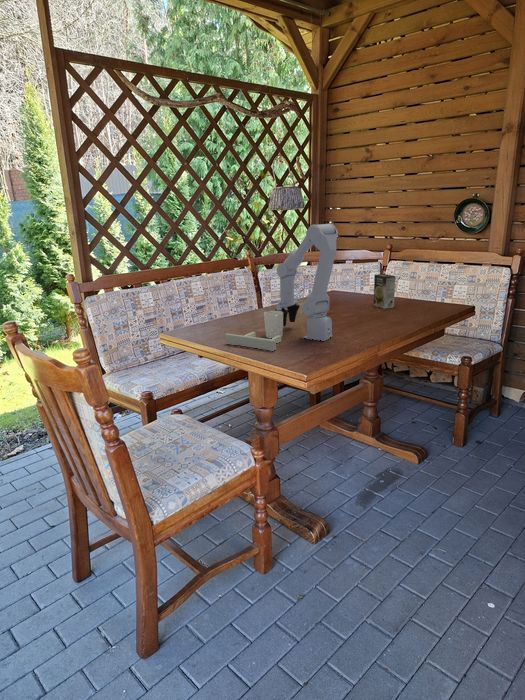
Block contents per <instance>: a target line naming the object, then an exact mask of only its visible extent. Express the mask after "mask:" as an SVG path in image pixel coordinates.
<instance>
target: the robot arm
mask: <svg viewBox="0 0 525 700" xmlns="http://www.w3.org/2000/svg"><path fill="white" fill-rule="evenodd" d="M338 234H339V231H338V230H337V227H336V226H335V225H334V224H333V223H324V224H323V223H321V224H311V225H310V226H309V227H308V228H307V230H306V231H305V237H304V238H303V240H302V241H301V243H300V244H299V246H298V247H297V249H292V250H291V251H290V252H289V255H288V256H287V257H286V259H285V260H284V261H283V262H282V263H281V262H280V263H278V265H277V267H276V273H277V276H278V277H279V292H280V293H279V294H280V297H279V298H280V299H279V301H278V302H277V303H278V304H276V308H275V310H274V311H282V312H283V327H286V326H287V318H288V319H289V323H295V321H296V317H297V313H298V311H299V309H300V305H299V300H298V299H295V279H296V275H297V273H298V272H297V271H298V267H299V266H300V265H301V264H302V263H303V261H304V260H305V254H306V253H308V252H309V250H310V249H311V248H312V247H313V246H315V248H316V249H317V250H319V252H320V254H319V259H318V261H317V262H318V263H317V268H316V272H315V276H314V281H313V285H312V289H311V292H310V293H308V295H306V296H305V297H306V298H305V301H304V302H303V303H302V311H303V314H304V315H305V317H306V333H307V334H306V335H304V336H303V337H302V338H303V339H304V338H306V340H312V339H313V340H315V341H320V340H321V341H320V342H325V341H327V340H329V339H331V338H332V337H334V336H333V334H332V333H333V321H332V318H331V317H329V316H327V313H328V312H329V311H330V299H331V297H330V296H329V295H328V293H327V290H328V288H329V283H330V279H331V274H332V271H333V267H334V262H335V257H336V253H337V239H338ZM330 337H331V338H330Z"/></svg>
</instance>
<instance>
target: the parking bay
mask: <svg viewBox="0 0 525 700" xmlns="http://www.w3.org/2000/svg"><path fill="white" fill-rule="evenodd" d="M224 335H225V336H224V337H225V344H226V343H230V344H236V345H242V346H249V347H254V348H260V349H266V350H272V351H274V350H276V351H277V344H276V343H278V342H280V343H282V337H281V336H280V335H278V336H276V337H274V338H272V339H271V338H264V337H263V338H262V337H256V332H255V331H251V332H249V333H246V334H245V335H243V334H242V335H241V334H233V333H225V334H224ZM278 344H279V343H278ZM266 350H265V351H266ZM272 351H271V352H272ZM274 352H275V351H274Z"/></svg>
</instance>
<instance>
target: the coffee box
mask: <svg viewBox="0 0 525 700" xmlns="http://www.w3.org/2000/svg"><path fill="white" fill-rule="evenodd" d="M373 283H374V285H373V307H376V308H379V307H380V309H384V310H385V309H386V308H387V309H394V308H395V293H396V292H395V291H396V275H391V274H385V273H381V274H374V282H373ZM393 307H394V308H393Z"/></svg>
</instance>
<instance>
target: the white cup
mask: <svg viewBox="0 0 525 700" xmlns="http://www.w3.org/2000/svg"><path fill="white" fill-rule="evenodd" d="M263 319H264V321H263V322H264V331H265V337H266V338H267V337H268V338H267V339H271V338H274V337H276V336H278V335H280V336H281V338H283V331H284V326H283V312H282V311H275V310H267V311H264V312H263Z"/></svg>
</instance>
